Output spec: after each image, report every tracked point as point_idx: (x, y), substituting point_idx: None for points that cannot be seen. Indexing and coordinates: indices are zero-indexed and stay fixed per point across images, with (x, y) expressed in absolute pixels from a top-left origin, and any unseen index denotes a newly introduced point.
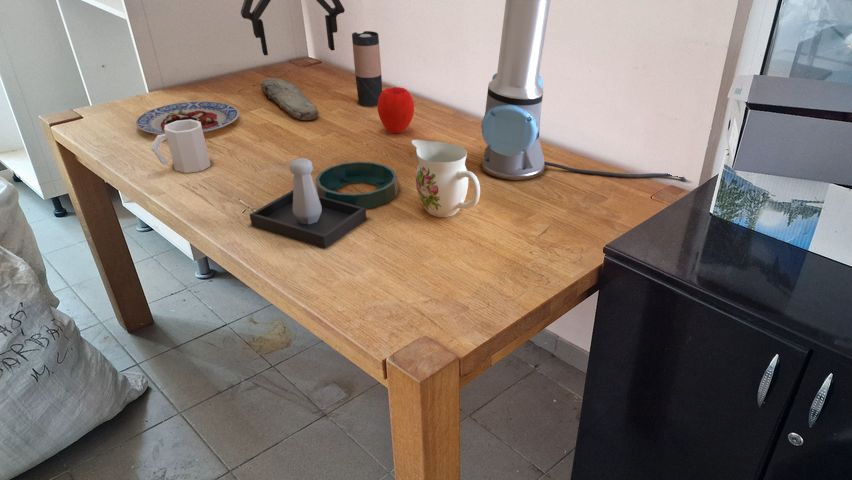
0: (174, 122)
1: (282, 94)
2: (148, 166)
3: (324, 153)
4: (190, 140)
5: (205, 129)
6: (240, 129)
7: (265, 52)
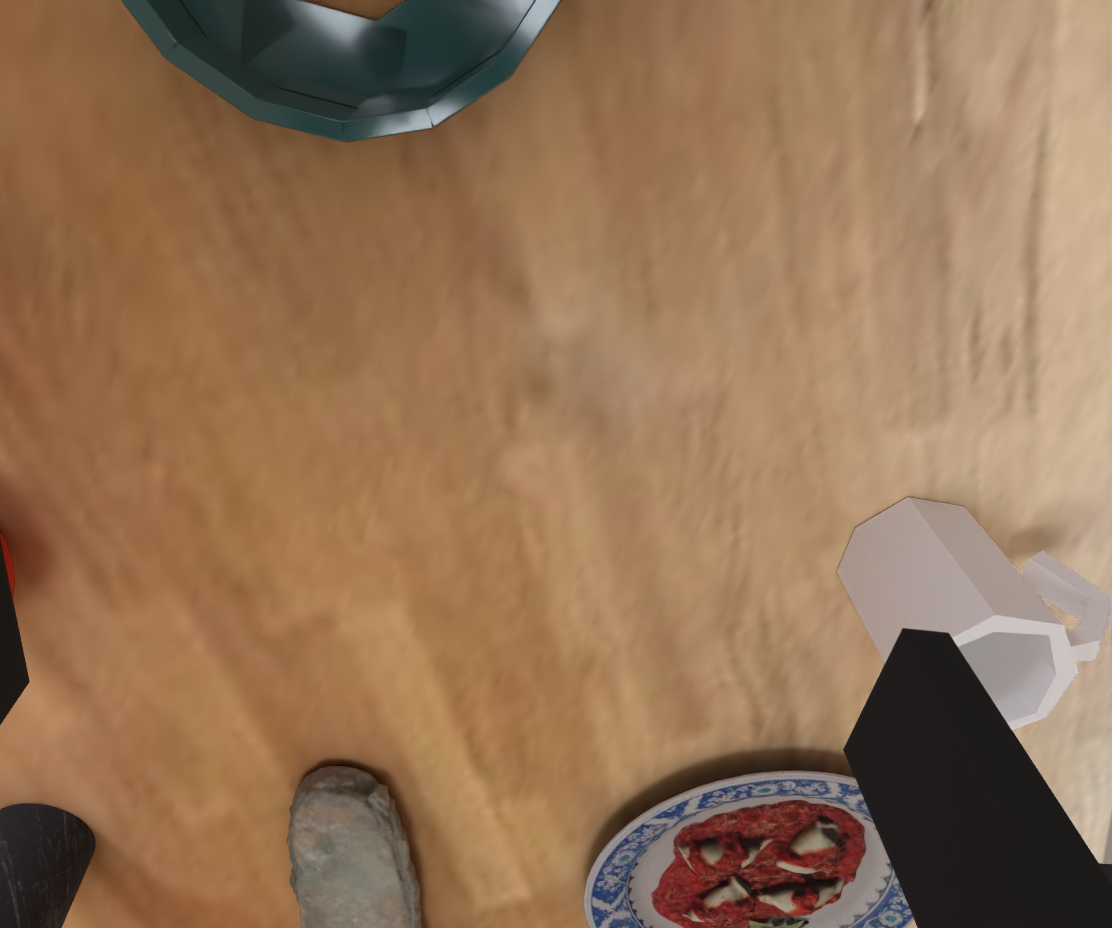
0: None
1: None
2: None
3: (375, 447)
4: (985, 587)
5: (759, 786)
6: (617, 781)
7: (947, 655)
